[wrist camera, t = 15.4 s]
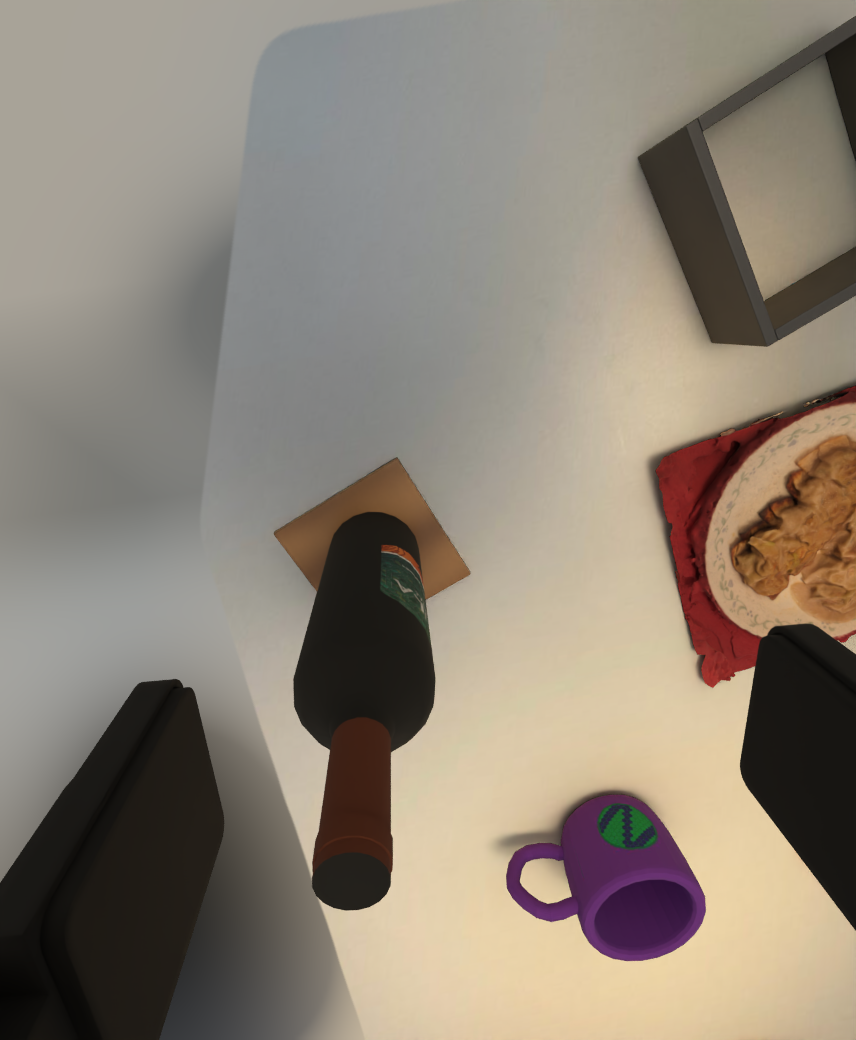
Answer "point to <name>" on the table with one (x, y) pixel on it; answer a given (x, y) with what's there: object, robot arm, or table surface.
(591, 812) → the mug
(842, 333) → the table surface
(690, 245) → the grey square tray frame
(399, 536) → the wine bottle
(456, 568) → the cork mat
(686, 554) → the plate with food
